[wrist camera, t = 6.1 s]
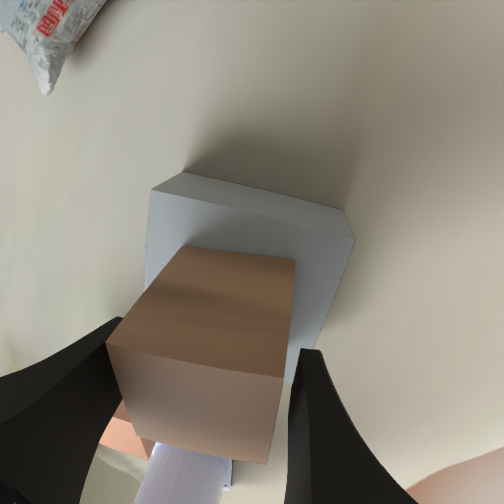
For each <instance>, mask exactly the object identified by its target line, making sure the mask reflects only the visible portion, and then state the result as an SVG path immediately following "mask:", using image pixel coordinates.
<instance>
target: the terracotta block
mask: <svg viewBox="0 0 504 504" xmlns="http://www.w3.org/2000/svg"><path fill="white" fill-rule="evenodd" d="M99 443H100V444H102V445H105V446H108V447H110V448H113V449H116V450H119V451H122V452H125V453H127V454H130V455H133V456H137V457H140V458H143V459H146V460H149V458H150V456H151V453H152V451H153V448H154V446H155V444H156V441H152V440H149V439H145V438H142V437H139V436H137V435H136V433H135V430H134V428H133V425H132V423H131V420H130V417H129V415H128V412H127V409H126V406H125V404H124V401H123V399H122V401H121V403H120V405H119V406H118V408H117V410H116V412H115V413H114V415H113V417H112V419H111V420H110V422H109V424H108V426H107V427H106V429H105V431H104V433H103V435H102V437H101V439H100V442H99Z"/></svg>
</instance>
